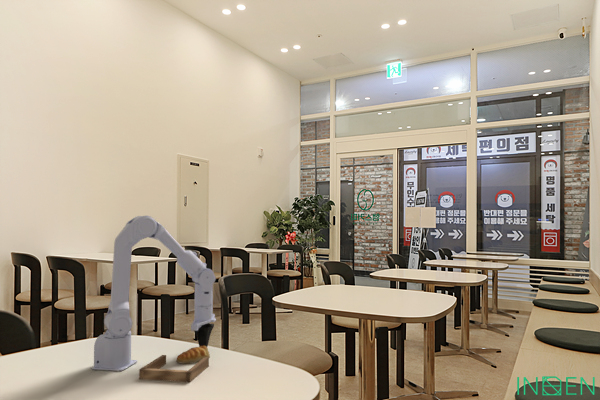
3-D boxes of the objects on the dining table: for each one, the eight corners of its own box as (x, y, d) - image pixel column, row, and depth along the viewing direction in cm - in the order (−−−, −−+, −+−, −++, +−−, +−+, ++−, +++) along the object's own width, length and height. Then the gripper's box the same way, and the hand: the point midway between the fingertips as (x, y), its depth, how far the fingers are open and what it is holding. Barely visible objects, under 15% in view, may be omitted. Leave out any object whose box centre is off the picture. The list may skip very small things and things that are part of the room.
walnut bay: (139, 379, 110) (139, 369, 111) (162, 363, 122) (162, 354, 123) (190, 382, 108) (190, 372, 108) (208, 366, 120) (208, 357, 120)
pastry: (182, 367, 120) (182, 353, 120) (172, 362, 125) (172, 348, 125) (211, 360, 126) (211, 347, 126) (200, 355, 131) (200, 342, 131)
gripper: (206, 310, 127) (206, 355, 126) (223, 301, 141) (223, 341, 141) (184, 309, 128) (184, 354, 128) (203, 300, 143) (203, 341, 142)
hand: (203, 347), depth 134 cm, fingers closed
